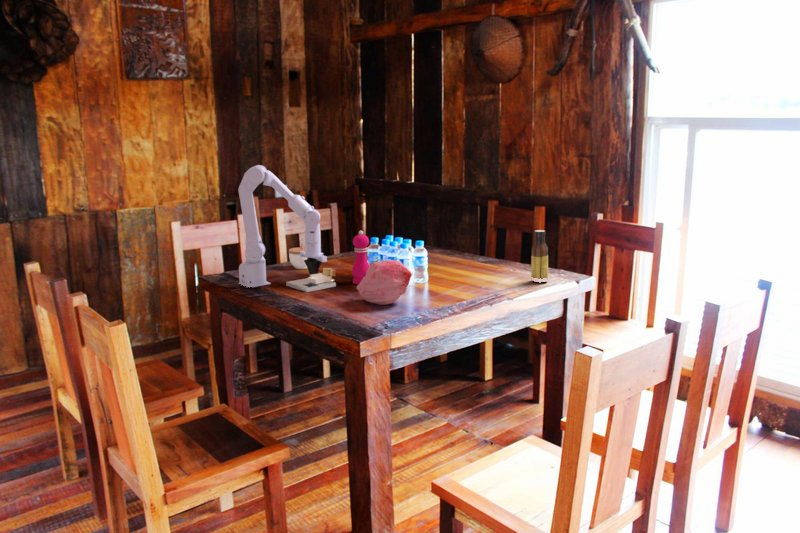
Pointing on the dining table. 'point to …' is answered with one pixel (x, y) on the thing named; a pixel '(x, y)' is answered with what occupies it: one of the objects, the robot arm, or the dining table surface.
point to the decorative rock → (384, 282)
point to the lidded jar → (297, 258)
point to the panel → (309, 285)
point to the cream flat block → (318, 278)
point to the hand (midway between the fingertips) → (313, 278)
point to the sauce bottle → (539, 256)
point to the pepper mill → (360, 257)
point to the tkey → (329, 272)
